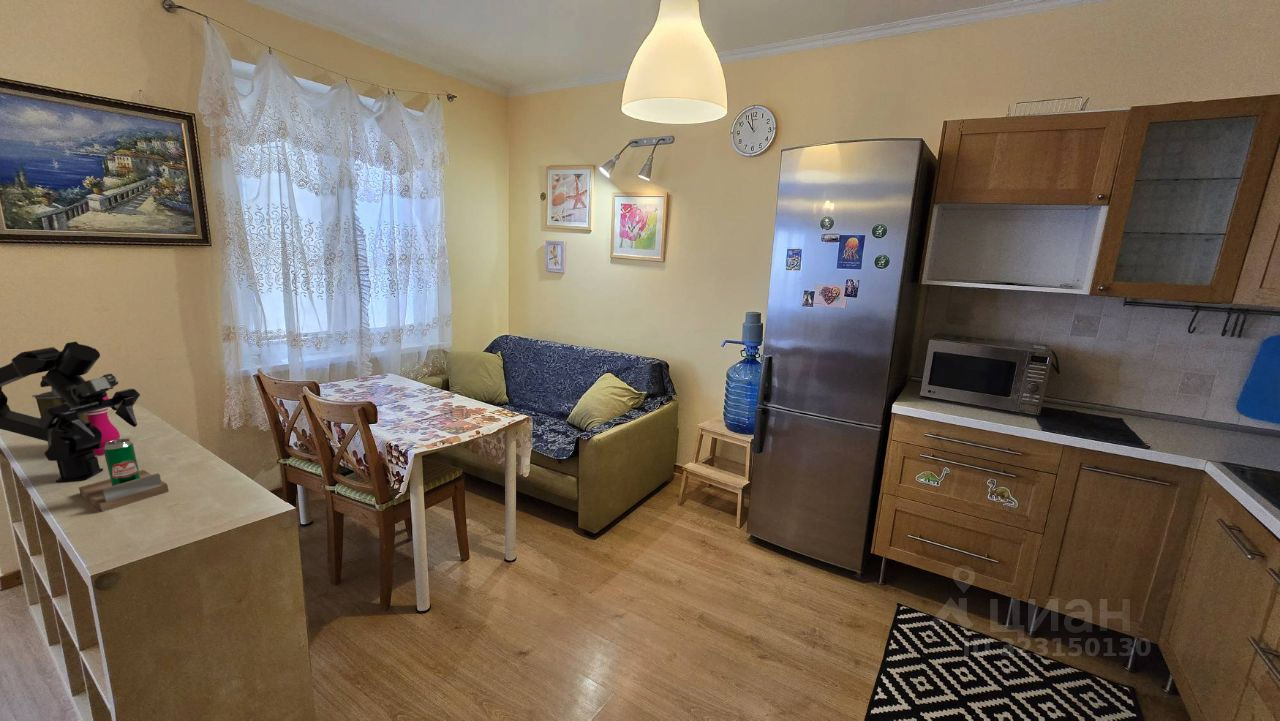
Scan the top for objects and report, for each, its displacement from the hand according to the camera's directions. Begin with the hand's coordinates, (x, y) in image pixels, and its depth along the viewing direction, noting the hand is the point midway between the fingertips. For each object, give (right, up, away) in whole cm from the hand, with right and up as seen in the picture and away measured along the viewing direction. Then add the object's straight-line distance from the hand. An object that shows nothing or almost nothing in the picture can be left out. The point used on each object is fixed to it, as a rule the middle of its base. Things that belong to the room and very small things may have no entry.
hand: (115, 431), depth 132 cm
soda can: (+9, -13, -6) cm, 17 cm away
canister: (-37, -9, +24) cm, 45 cm away
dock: (+6, -15, -4) cm, 16 cm away
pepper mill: (-25, -9, +22) cm, 35 cm away
